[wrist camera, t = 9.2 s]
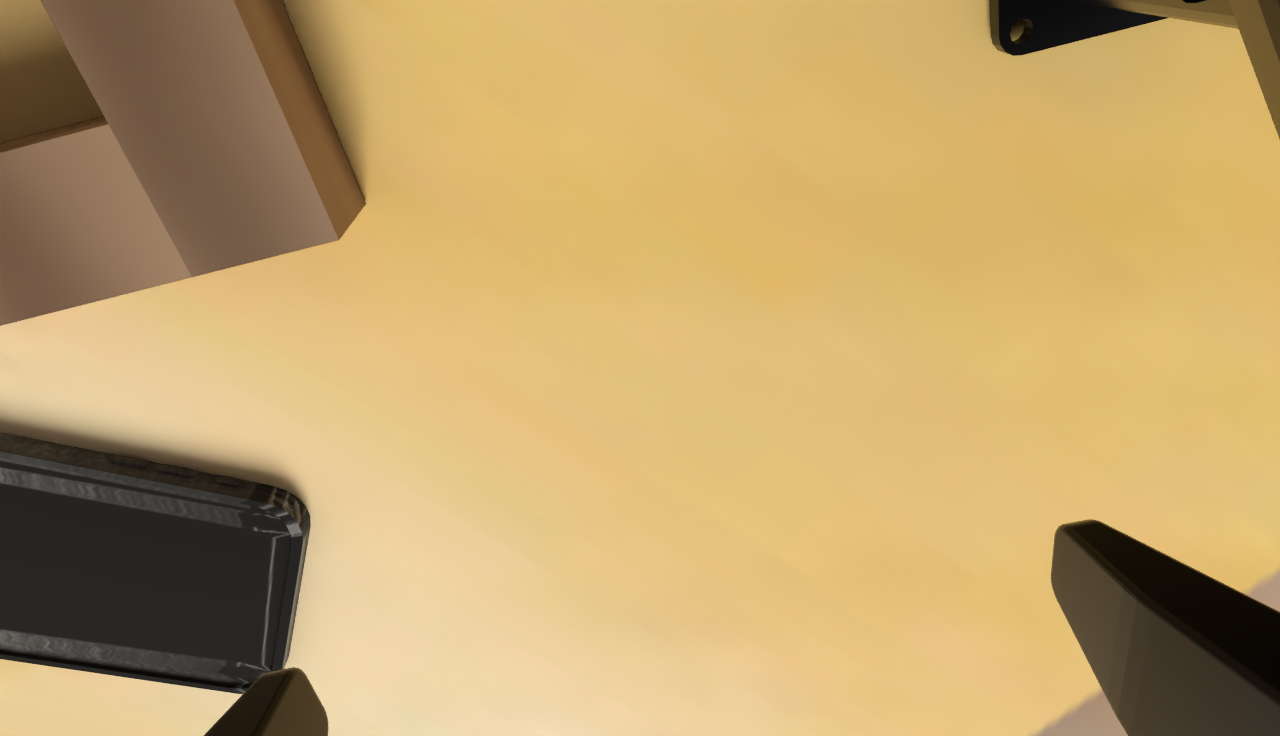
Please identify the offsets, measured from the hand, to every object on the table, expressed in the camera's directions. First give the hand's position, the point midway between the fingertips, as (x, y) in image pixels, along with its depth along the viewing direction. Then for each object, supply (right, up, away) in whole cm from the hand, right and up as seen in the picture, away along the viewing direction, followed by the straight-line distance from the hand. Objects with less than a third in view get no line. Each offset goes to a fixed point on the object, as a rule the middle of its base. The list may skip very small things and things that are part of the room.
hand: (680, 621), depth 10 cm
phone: (-18, -2, +14) cm, 23 cm away
